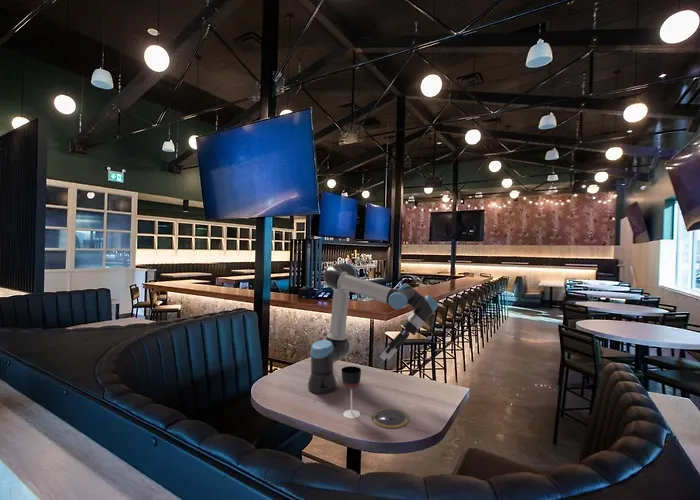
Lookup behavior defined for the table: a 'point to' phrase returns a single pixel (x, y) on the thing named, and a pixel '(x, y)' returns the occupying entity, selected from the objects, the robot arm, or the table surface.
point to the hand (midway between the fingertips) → (384, 358)
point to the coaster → (390, 418)
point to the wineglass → (351, 386)
